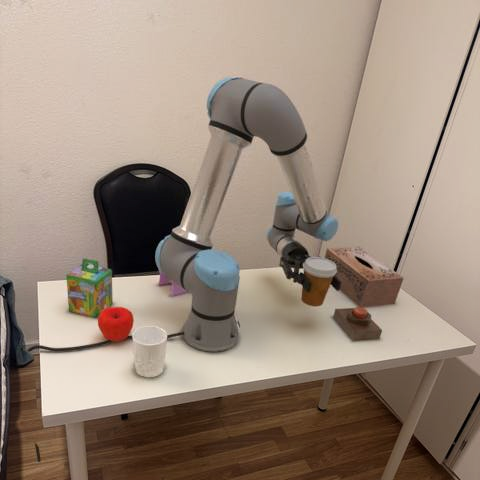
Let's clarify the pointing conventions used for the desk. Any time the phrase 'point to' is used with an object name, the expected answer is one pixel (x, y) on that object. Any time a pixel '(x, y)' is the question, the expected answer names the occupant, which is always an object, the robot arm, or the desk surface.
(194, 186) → the robot arm
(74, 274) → the chalk box
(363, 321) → the console
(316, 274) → the disposable coffee cup
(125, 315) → the apple
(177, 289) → the toy chair
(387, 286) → the tissue box cover
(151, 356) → the white cup
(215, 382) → the desk surface
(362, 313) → the button
